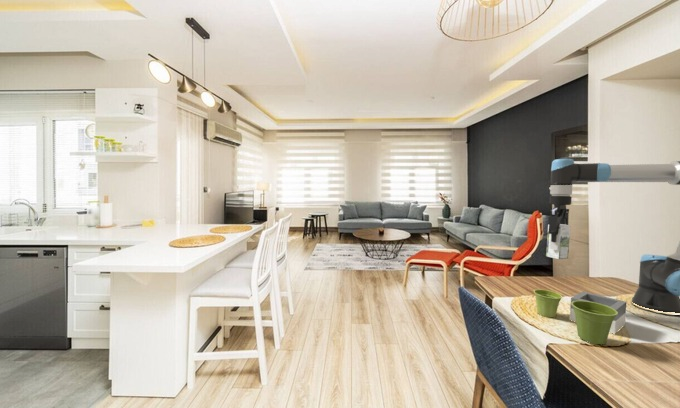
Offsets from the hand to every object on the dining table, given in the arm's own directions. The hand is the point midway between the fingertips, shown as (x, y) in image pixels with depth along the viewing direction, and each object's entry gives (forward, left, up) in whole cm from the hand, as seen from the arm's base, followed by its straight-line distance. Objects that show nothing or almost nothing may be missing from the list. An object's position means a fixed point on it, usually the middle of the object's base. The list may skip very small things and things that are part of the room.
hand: (557, 248), depth 127 cm
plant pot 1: (+9, +12, -25) cm, 29 cm away
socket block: (-7, +16, -25) cm, 30 cm away
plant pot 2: (+4, +31, -25) cm, 40 cm away
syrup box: (0, 0, -4) cm, 4 cm away
